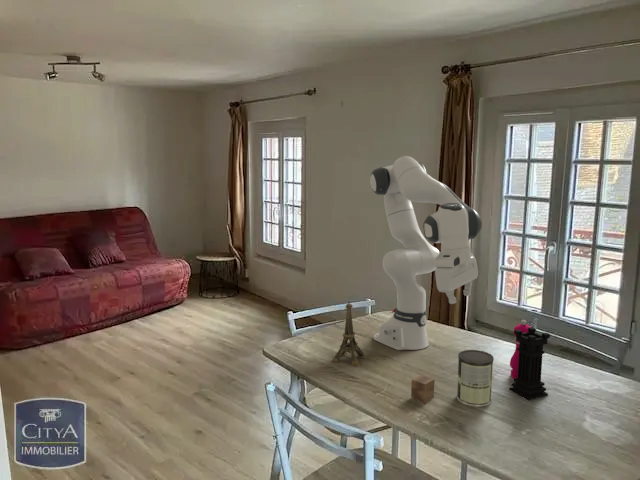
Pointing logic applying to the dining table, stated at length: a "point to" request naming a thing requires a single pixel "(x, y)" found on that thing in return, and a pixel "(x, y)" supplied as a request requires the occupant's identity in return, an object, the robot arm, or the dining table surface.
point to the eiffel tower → (347, 346)
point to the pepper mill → (515, 357)
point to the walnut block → (422, 388)
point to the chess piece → (530, 364)
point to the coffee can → (475, 378)
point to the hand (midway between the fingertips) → (460, 299)
